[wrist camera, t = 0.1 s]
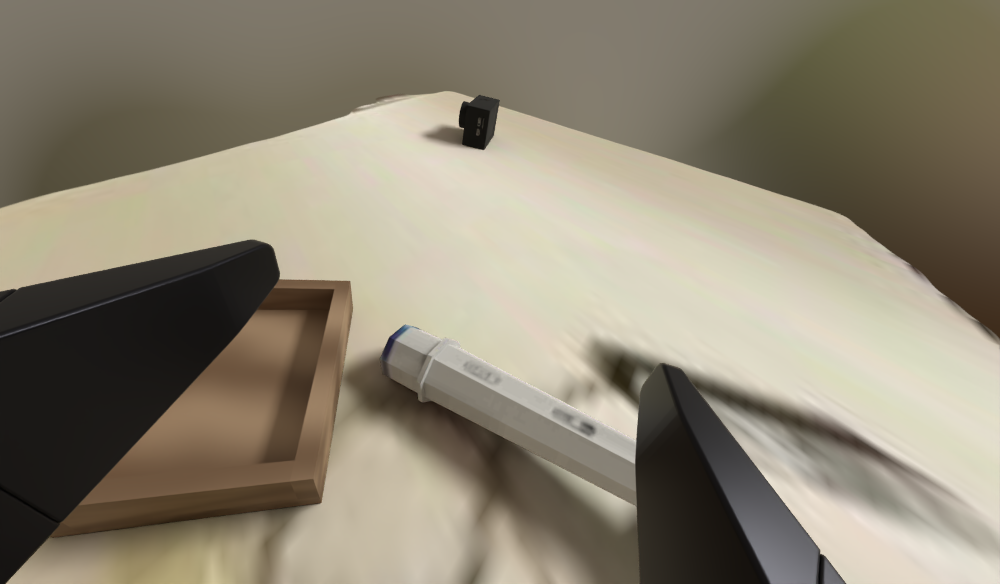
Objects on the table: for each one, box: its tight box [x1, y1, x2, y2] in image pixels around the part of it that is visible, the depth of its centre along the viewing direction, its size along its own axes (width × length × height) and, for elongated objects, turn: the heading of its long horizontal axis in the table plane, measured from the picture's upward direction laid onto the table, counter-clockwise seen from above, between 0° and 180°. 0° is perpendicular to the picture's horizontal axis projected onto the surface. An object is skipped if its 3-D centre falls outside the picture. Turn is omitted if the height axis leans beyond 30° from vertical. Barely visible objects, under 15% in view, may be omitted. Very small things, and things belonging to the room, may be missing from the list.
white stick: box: [380, 325, 637, 506], centre depth 22 cm, size 5×7×25 cm
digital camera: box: [459, 95, 500, 150], centre depth 68 cm, size 10×5×7 cm, turn 171°
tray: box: [51, 279, 353, 538], centre depth 22 cm, size 15×11×3 cm
